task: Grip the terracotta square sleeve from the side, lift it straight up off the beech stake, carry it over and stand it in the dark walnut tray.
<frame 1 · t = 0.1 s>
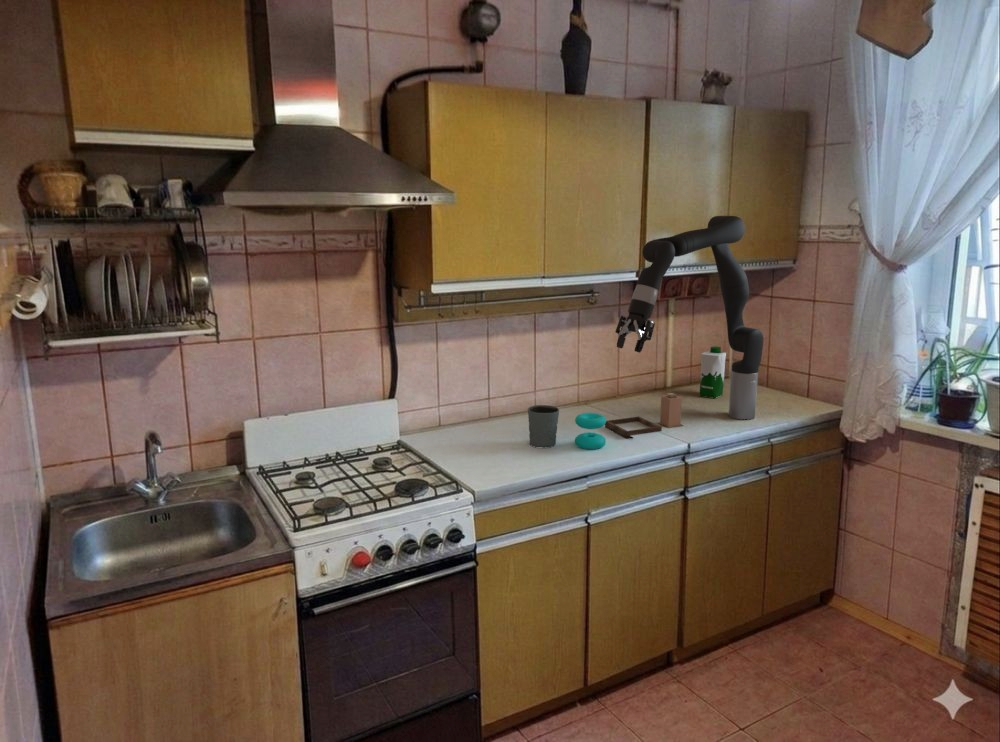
hand: (628, 349, 222), 31 cm above the counter, tool tilted 20°, fingers open, 8 cm apart
stake: (670, 427, 246), on the counter
tray: (632, 430, 242), on the counter
sleeve: (670, 424, 246), point 1 cm above the counter, touching stake
donuts: (590, 446, 227), on the counter
grey tapered cup: (543, 444, 229), on the counter
milk carton: (710, 396, 288), on the counter
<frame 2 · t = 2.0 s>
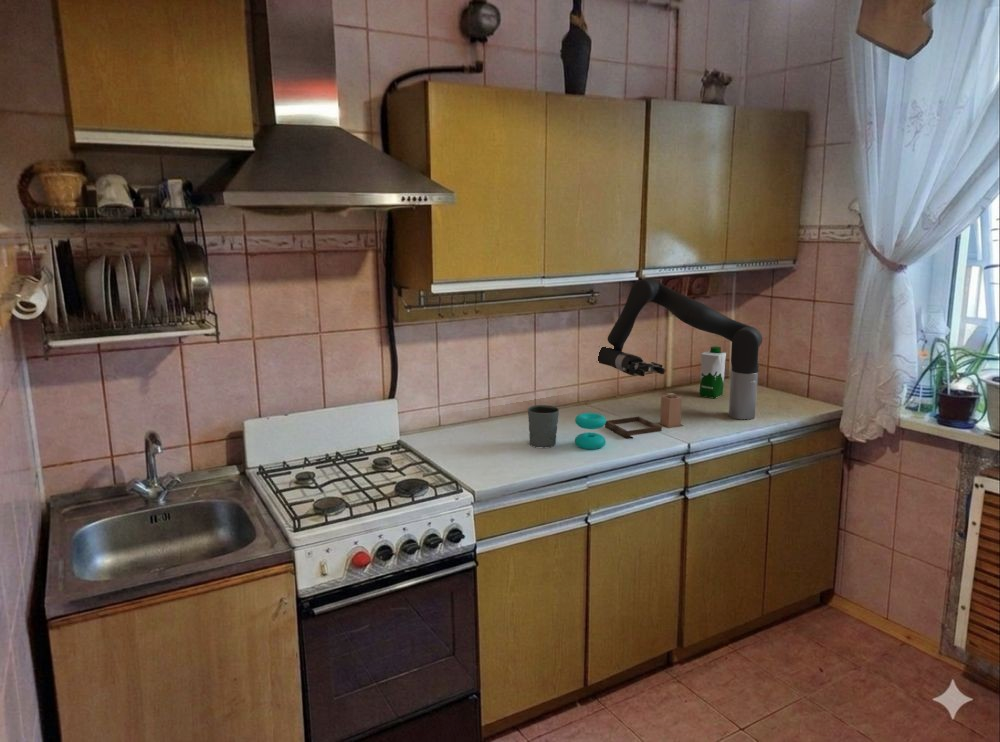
hand: (653, 372, 252), 17 cm above the counter, tool horizontal, fingers open, 8 cm apart
nothing on the counter moved.
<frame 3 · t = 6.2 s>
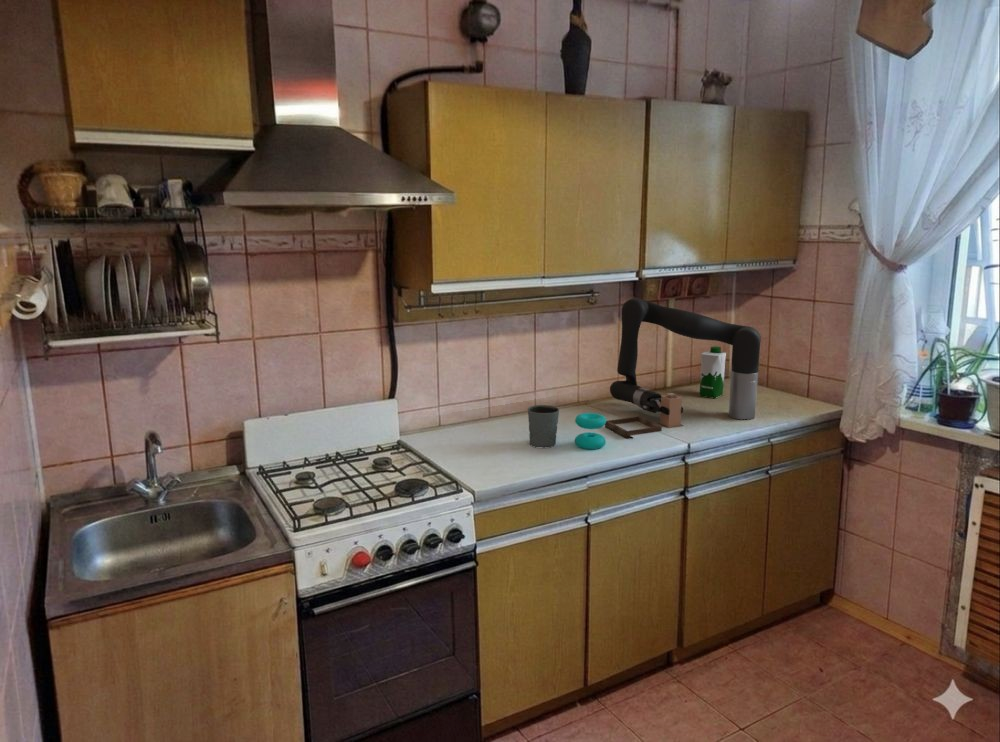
hand: (675, 411, 242), 6 cm above the counter, tool horizontal, fingers closed on sleeve, 5 cm apart
sleeve: (670, 424, 246), point 1 cm above the counter, touching gripper, stake
everything else where it was.
when the fingers open (8 cm above the counter, at t = 12.2 s): sleeve drops 2 cm, resting on tray.
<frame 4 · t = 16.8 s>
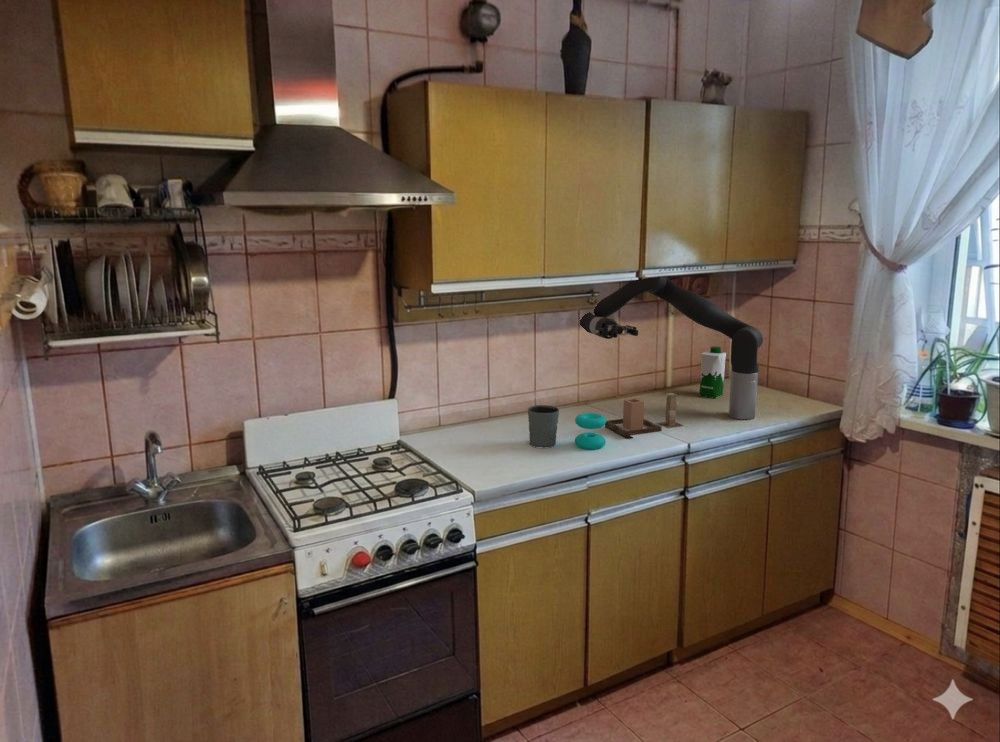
hand: (626, 334, 248), 32 cm above the counter, tool horizontal, fingers open, 8 cm apart
sleeve: (632, 428, 242), point 1 cm above the counter, touching tray
everything else where it was.
at the end: sleeve 0.1 cm from the tray (horizontally); sleeve tilted 0°; sleeve point 0.8 cm above the counter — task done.
